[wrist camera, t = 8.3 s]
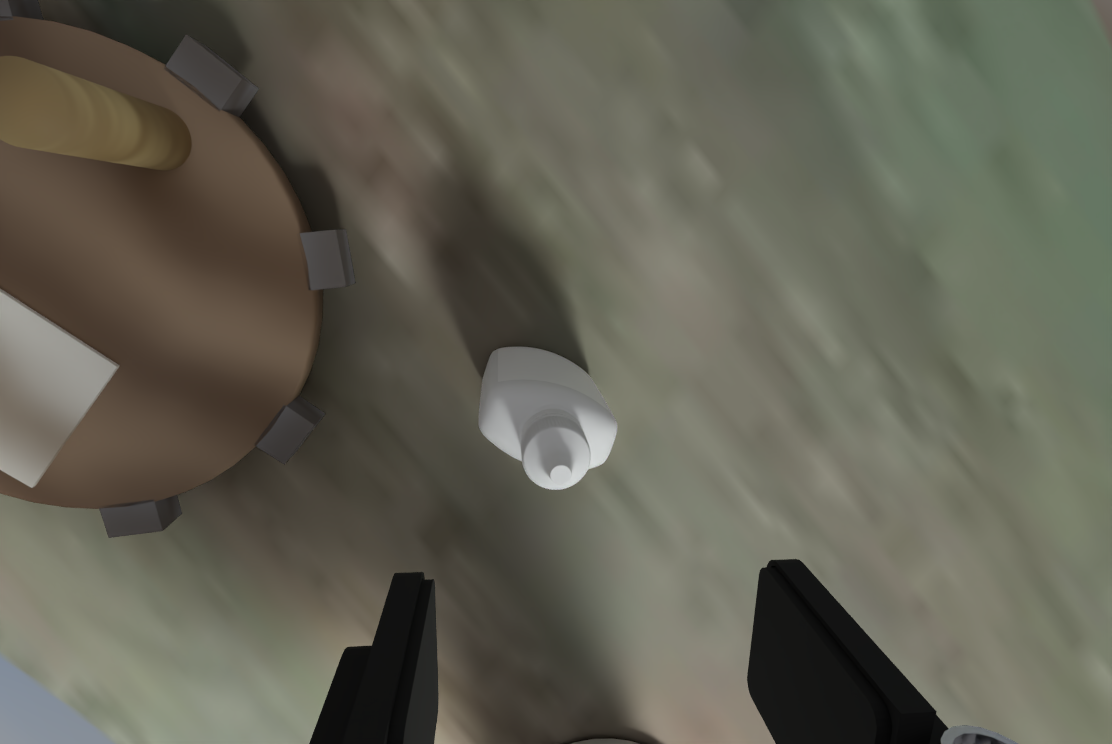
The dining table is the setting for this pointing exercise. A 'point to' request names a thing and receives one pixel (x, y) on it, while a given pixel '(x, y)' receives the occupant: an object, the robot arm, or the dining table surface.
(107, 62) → the sprocket
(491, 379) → the eye dropper bottle
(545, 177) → the dining table surface
